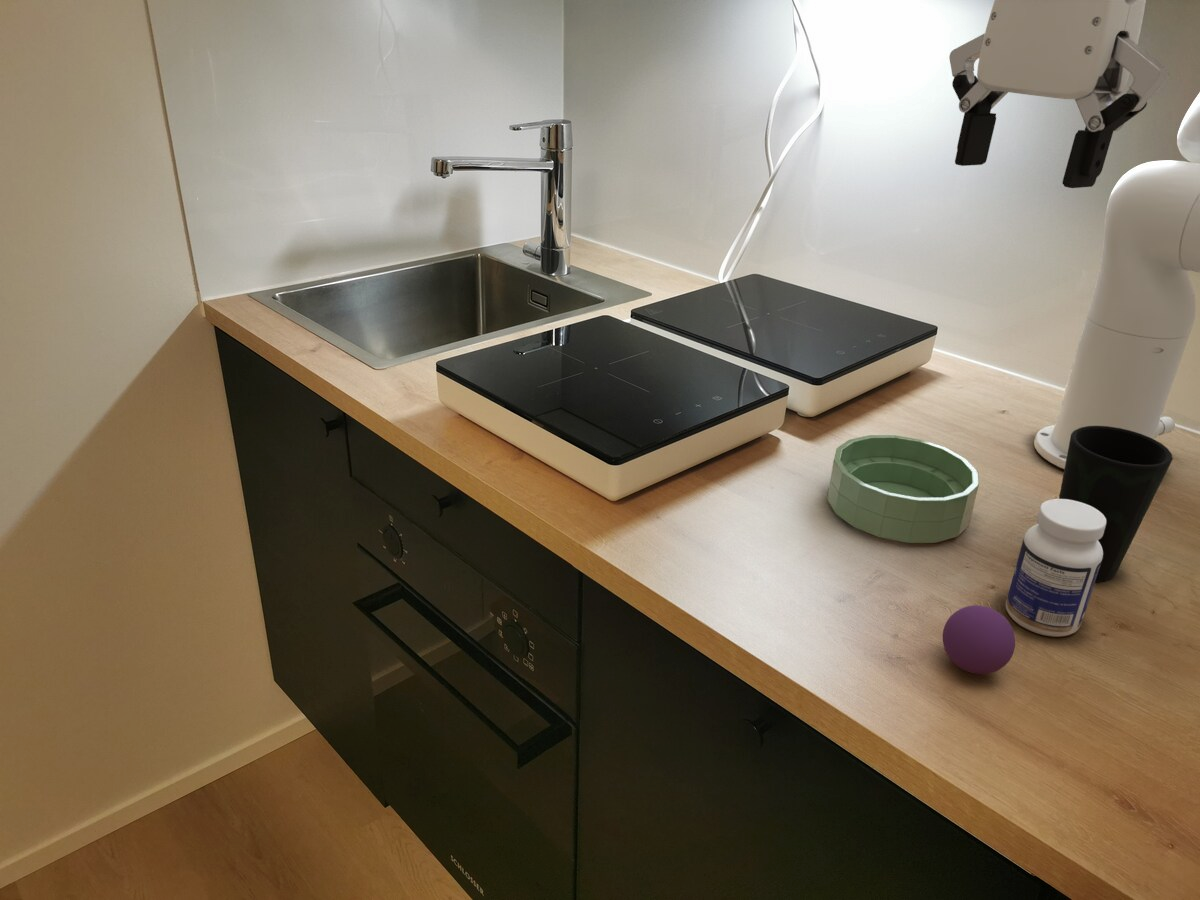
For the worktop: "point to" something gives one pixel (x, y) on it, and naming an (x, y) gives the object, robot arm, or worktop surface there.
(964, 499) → the bowl
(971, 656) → the ball
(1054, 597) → the pill bottle
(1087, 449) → the cup
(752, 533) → the worktop surface
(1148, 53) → the robot arm
